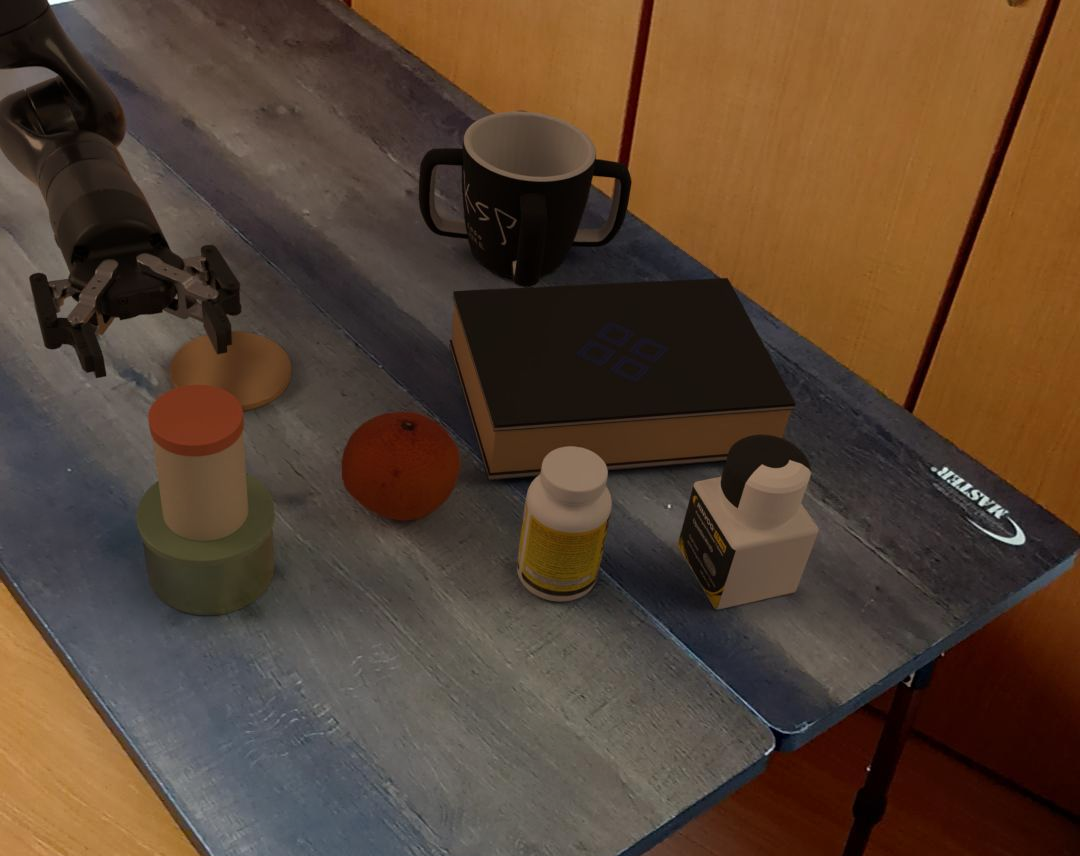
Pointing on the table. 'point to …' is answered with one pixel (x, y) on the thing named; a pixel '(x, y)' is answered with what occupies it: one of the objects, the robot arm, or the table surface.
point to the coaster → (235, 368)
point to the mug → (524, 193)
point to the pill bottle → (565, 525)
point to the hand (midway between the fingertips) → (162, 355)
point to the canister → (200, 461)
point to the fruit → (400, 465)
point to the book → (613, 373)
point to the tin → (209, 557)
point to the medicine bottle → (750, 524)
